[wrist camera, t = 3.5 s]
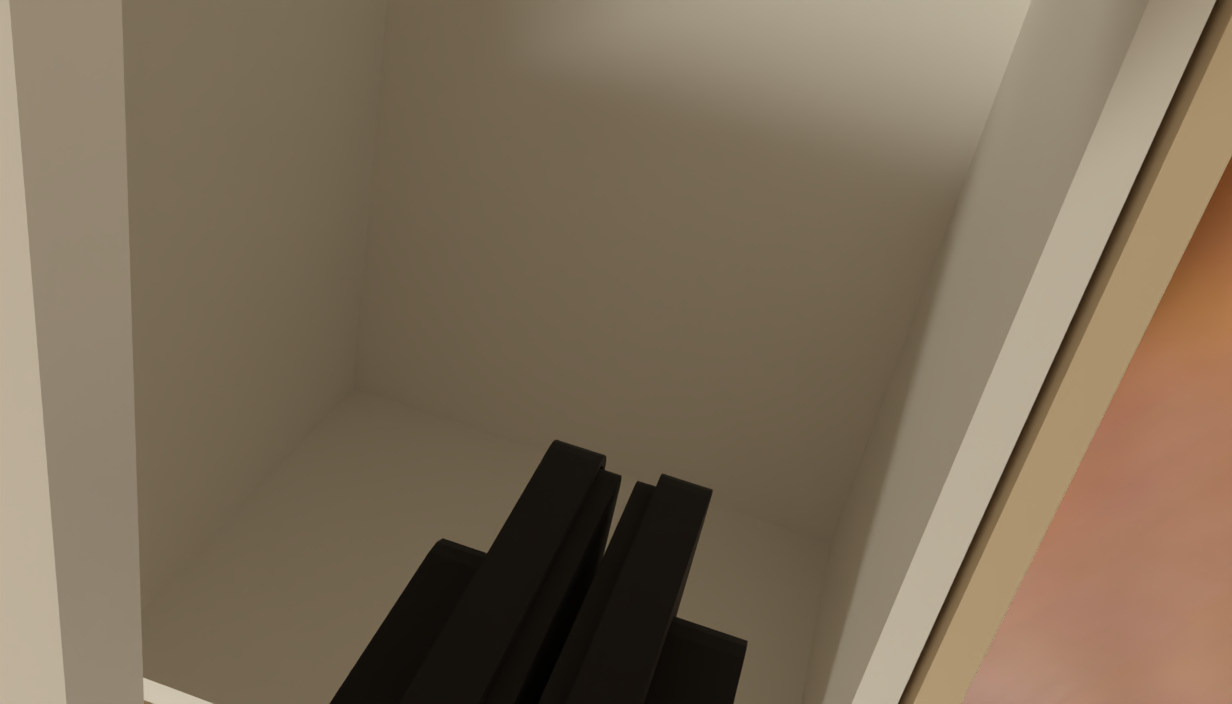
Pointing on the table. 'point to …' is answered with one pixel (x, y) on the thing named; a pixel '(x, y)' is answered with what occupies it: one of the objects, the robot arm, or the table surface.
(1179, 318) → the table surface
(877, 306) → the carton
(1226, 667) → the table surface
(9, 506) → the carton flap
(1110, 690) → the table surface
